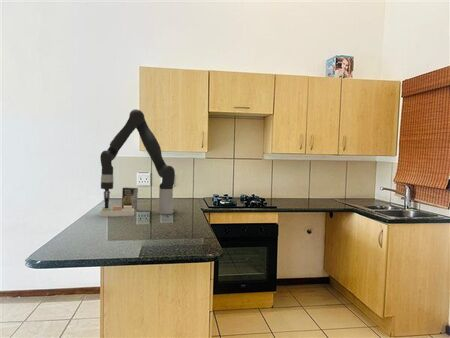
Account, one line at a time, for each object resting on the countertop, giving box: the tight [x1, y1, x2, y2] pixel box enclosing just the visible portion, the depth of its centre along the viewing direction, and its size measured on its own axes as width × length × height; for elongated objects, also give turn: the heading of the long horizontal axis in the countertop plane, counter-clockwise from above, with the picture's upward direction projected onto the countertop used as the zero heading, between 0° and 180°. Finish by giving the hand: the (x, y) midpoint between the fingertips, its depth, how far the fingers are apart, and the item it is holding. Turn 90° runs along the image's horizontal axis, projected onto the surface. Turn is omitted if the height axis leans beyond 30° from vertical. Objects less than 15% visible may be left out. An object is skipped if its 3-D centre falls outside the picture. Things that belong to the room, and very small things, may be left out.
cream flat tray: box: [99, 208, 135, 218], centre depth 207 cm, size 21×8×4 cm, turn 109°
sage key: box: [101, 206, 112, 211], centre depth 205 cm, size 5×5×3 cm
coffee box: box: [121, 187, 139, 212], centre depth 227 cm, size 9×6×16 cm
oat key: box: [123, 206, 132, 210], centre depth 209 cm, size 5×5×3 cm
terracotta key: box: [112, 205, 122, 211], centre depth 207 cm, size 5×5×3 cm
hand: (106, 208), depth 205 cm, fingers closed
